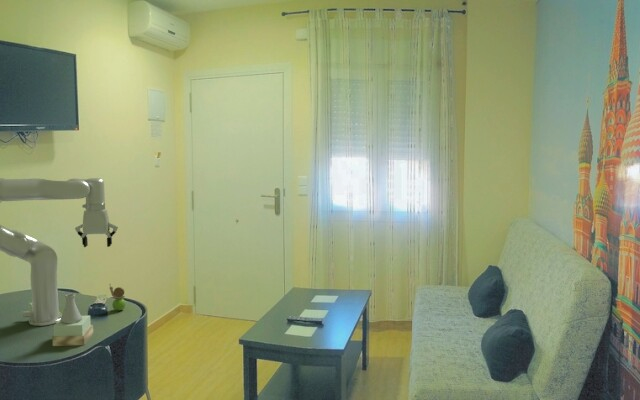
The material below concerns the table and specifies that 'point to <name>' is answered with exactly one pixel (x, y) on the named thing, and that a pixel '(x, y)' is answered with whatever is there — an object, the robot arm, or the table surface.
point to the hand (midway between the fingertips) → (97, 246)
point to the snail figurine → (118, 298)
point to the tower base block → (73, 339)
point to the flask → (70, 311)
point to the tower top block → (72, 327)
